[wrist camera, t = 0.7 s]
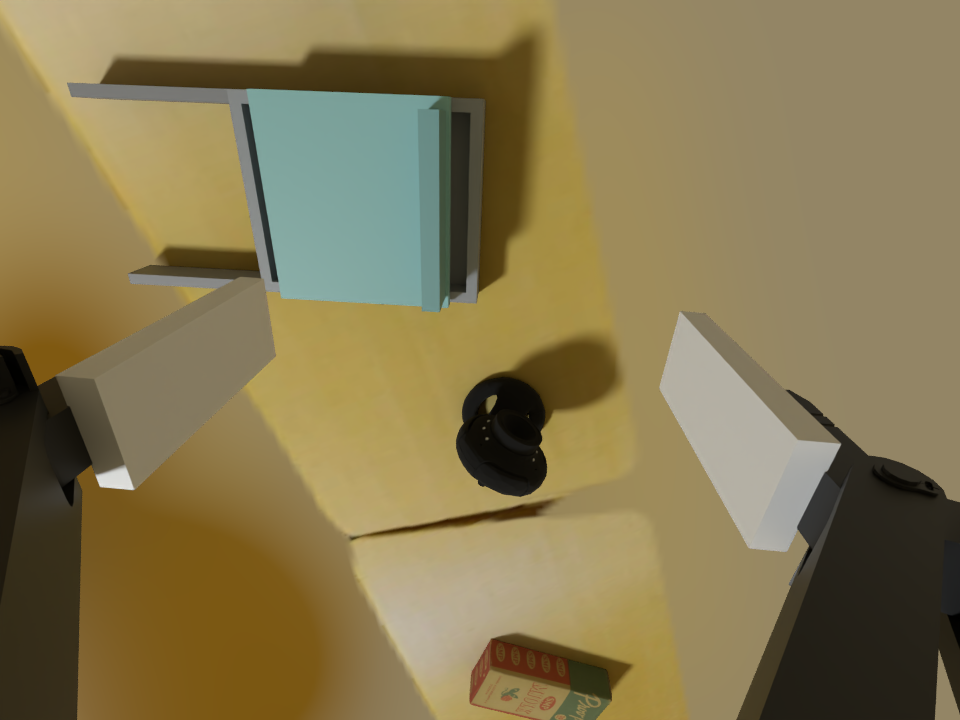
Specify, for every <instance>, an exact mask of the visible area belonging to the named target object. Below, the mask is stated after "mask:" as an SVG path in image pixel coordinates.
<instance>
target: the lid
mask: <svg viewBox="0 0 960 720" xmlns="http://www.w3.org/2000/svg"><path fill="white" fill-rule="evenodd" d="M247 95H248V101H249V107H250V113H251V119H252V125H253V131H254V137H255V143H256V149H257V155H258V161H259V167H260V173H261V179H262V185H263V191H264V197H265V203H266V209H267V215H268V221H269V227H270V233H271V239H272V245H273V251H274V257H275V263H276V269H277V275H278V281H279V287H280V293H281V298H287V299H304V300H322V301H339V302H356V303H374V304H391V305H408V306H422V311H430V312H440V310H441V307H443V308H448V307H449V304H450V211H451V97H450V96H426V95H400V94H374V93H348V92H322V91H296V90H270V89H247Z"/></svg>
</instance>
